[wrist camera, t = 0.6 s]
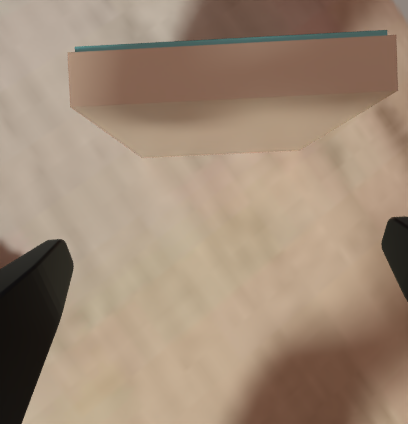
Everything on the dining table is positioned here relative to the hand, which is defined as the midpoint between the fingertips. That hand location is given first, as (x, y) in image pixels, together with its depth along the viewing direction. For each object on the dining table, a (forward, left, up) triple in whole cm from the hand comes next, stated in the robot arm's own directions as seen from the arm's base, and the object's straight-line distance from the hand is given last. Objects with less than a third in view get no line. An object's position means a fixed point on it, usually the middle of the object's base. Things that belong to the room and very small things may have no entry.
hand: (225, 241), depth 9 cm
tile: (+5, +3, -15) cm, 16 cm away
